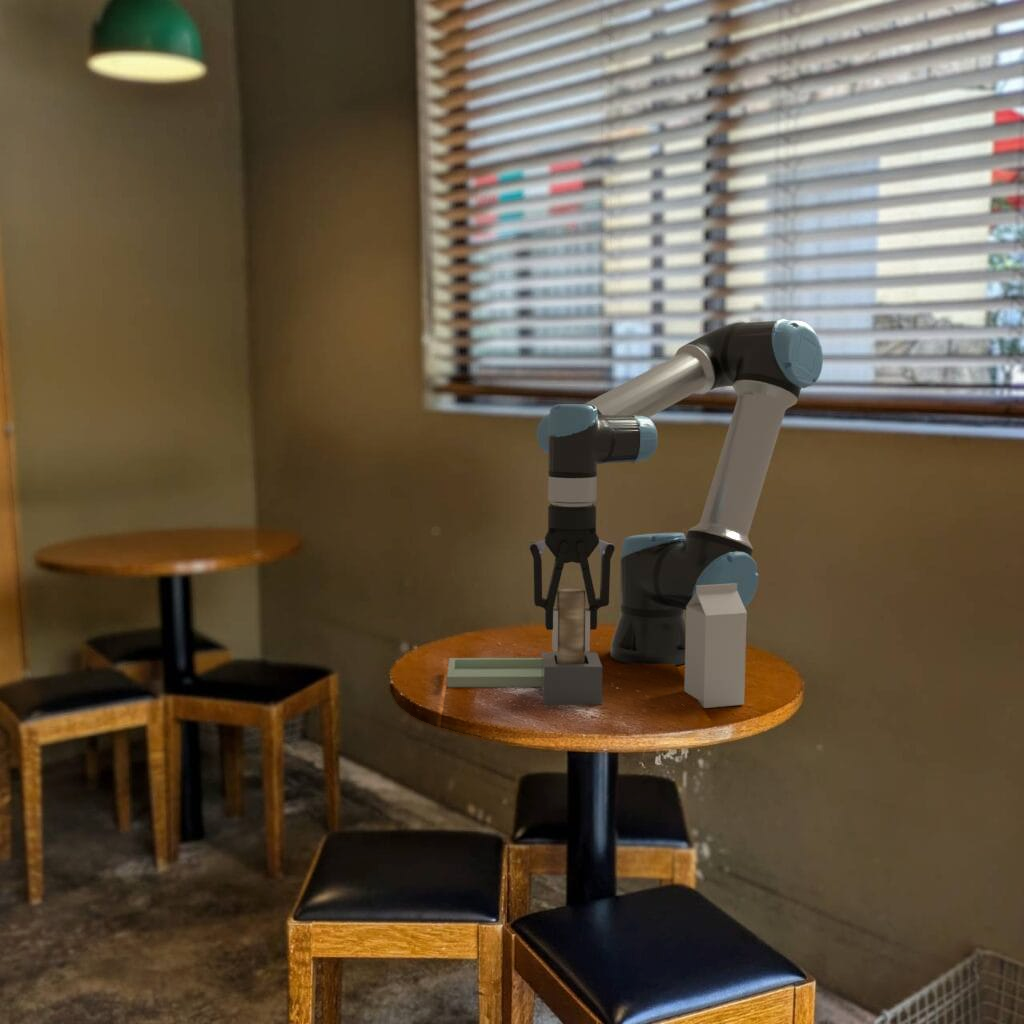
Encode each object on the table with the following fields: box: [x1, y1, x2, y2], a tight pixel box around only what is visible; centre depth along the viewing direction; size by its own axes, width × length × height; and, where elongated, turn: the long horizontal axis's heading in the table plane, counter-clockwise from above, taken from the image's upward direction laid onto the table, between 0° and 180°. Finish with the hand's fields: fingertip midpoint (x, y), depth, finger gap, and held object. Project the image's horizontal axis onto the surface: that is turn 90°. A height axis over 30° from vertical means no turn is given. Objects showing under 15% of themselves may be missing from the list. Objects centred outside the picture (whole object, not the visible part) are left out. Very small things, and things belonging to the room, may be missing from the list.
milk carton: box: [683, 583, 748, 709], centre depth 175 cm, size 7×7×19 cm
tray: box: [446, 657, 542, 688], centre depth 187 cm, size 18×12×3 cm, turn 91°
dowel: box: [556, 588, 586, 664], centre depth 175 cm, size 4×4×17 cm
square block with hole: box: [541, 651, 603, 706], centre depth 175 cm, size 9×9×7 cm
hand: (570, 649), depth 175 cm, fingers closed on dowel, 4 cm apart
